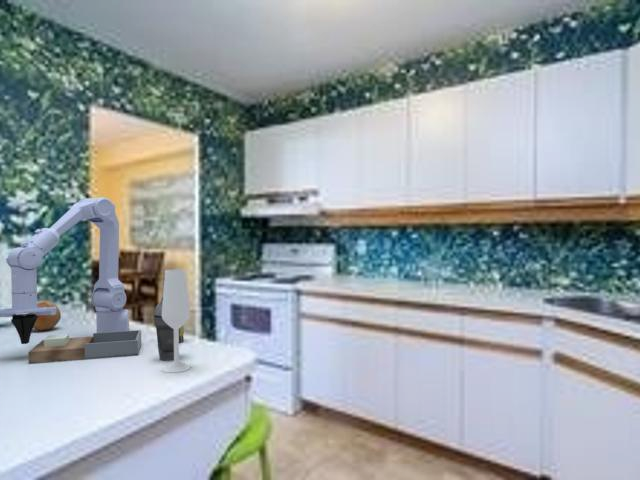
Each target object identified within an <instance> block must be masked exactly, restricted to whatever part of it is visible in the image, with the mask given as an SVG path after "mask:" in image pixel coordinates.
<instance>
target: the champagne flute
mask: <svg viewBox="0 0 640 480" xmlns="http://www.w3.org/2000/svg"><path fill="white" fill-rule="evenodd" d="M186 271H187V270H186V269H166V270H164V277H165V279H164V278H163V283H164V291H162V292H163V293H162V294H163V295H162V297H163V303H162V315H161V316H162V319H163V320H164V322H165V323H166V324H167V325H168V326H170V327H171V328H173V329H174V360H172V362H170V363H169V364H167V365H165V367H164V366H163V368H162V371H163V372H166V373H180V372H185V371H188V370H190V369H191V368H190V366H191V365H189V364H187V363H185V362H183V361H181V359H180V342H179V328H180V327H182V326H183V327H184V325H185V324H186V323H187V322H188V320H189V319H190V317H191V309H190V300H189V290H188V281H187V272H186Z"/></svg>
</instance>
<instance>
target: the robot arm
mask: <svg viewBox="0 0 640 480" xmlns="http://www.w3.org/2000/svg"><path fill="white" fill-rule="evenodd" d="M83 220H84V221H85V220H86V221H88V222H90V223H92V224H93V225H95V226H96V227H97V228H98V229H99V253H98V254H99V261H98V262H99V263H98V264H99V266H98V268H99V269H98V273H99V274H98V280H97V281H96V282H95V284H93V291H92V294H91V296H90V300H91V304H92V305H93V307H95V308H94V310H95V311H96V312H95V313H96V314H95V315H96V316H95V317H96V333H103V332H118V331H131V330H130V329H131V328H130V315H129V314H130V311H129V309H124V306H125V305H126V304H127V295H126V291H125V285H124V284H123V282H121V281H120V280H119V252H120V251H119V249H120V245H119V243H120V222H119V219H118V216H117V214H116V204H115V203H113V201H112V200H111V199H109V198H107V197H106V196H102V197H94V198H92V197H91V198H88V197H86V198H81V199H80V200H78V202H76V203H74V204H73V205H72V206H71V208H70V209H69V210H67V212H66V213H64V214H63V215H62V216H61V217H60V218H59V219H58V220H57V221H56V222H55V223H54V224H52V225H51V226H50V227H49V228H48V227H43V228H37V229H36V230H35V231H34V233H35V234H33V235H32V236H31V237H30V238H28V240H26V241H25V240H24V241H22V242H21V246H20V247H19V246H18V247H15V248H13V249H12V250H10V251H9V253H8V255H7V257H6V258H5V261H6V264H7V265H8V266H9V268H10V270H11V271H10V273H11V274H10V275H11V280H10V281H11V308H1V309H0V318H11V317H12V318H11V319H10V321H11V324H12V325H13V327H14V328H15V329H16V332H17V334H18V337H19V340H20V344H21V345H28V344H29V343H30V340H31V335H32V330H33V329H34V328H33V326H34V324H35V322H36V320H37V318H38V315H55V314H56V307H37V303H38V277H37V276H38V273H37V271H38V270H37V267H38V266H40V265H41V263H42V259H43V257H44V256H46V255H47V254H48V253H50V251H52V250H53V249H54V248H55V247H56V246H57V245H58V244H59V243H60V237H62V236H63V234H65V233H66V232H68V231H69V230H70V229H72V228H73V227H74V226H76V224H78V223H79V222H80V221H83ZM28 313H32V314H28Z"/></svg>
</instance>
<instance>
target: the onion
mask: <svg viewBox="0 0 640 480" xmlns="http://www.w3.org/2000/svg"><path fill="white" fill-rule="evenodd" d="M37 307H56V314H55V315H38V318H37V320H36V322H35V324H34V326H33V329H35V330H37V331H40V332H41V331H42V332H46V331H48V330H51V329H53V328H54V327H56V326H57V325H58V323H59V322H60V320H61V317H62V315H61V311H60V309H59V307H58V306H57V304H56V303H54V302H51V301H49V300H47V299H46V300H42V301H39V302H37ZM27 314H32V313H27Z"/></svg>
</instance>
